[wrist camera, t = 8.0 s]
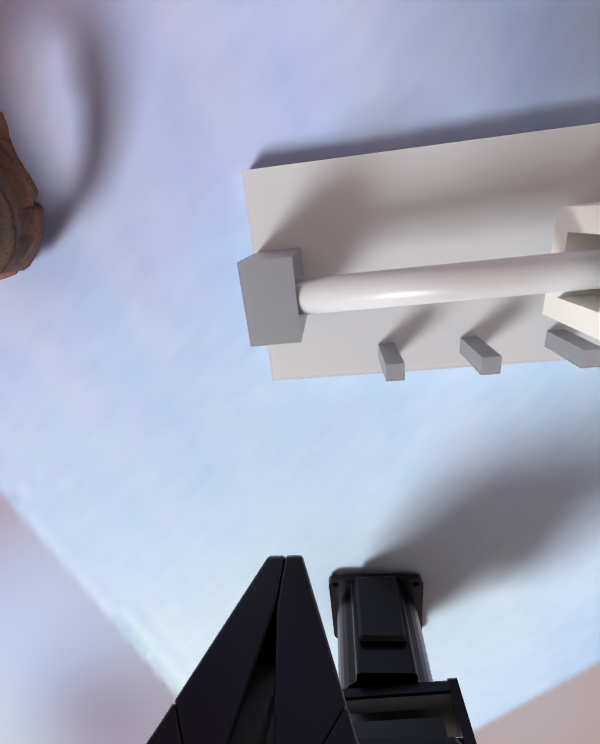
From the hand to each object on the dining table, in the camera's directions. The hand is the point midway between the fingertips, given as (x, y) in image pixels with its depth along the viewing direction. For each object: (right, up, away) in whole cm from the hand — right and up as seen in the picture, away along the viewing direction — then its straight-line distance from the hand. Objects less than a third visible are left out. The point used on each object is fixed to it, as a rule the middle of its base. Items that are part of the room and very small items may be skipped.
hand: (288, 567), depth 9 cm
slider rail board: (+9, +10, +9) cm, 16 cm away
